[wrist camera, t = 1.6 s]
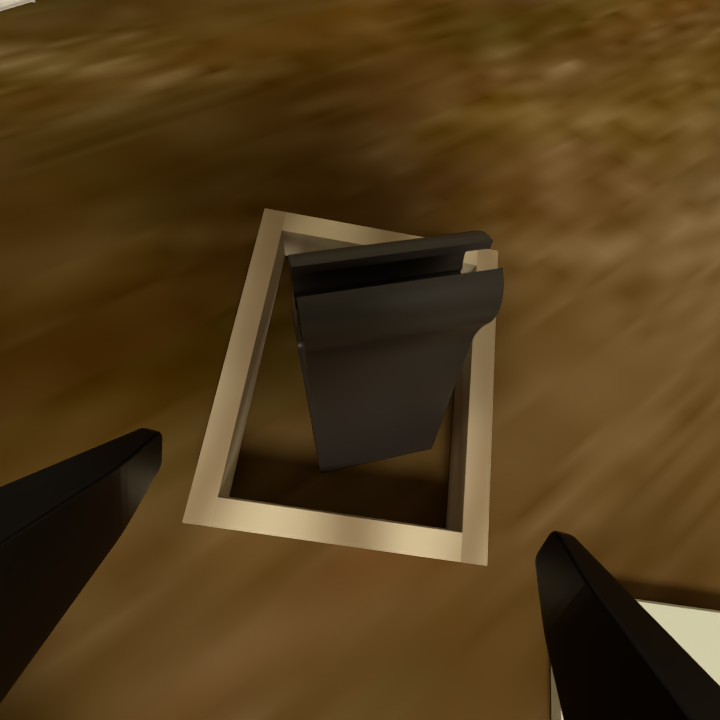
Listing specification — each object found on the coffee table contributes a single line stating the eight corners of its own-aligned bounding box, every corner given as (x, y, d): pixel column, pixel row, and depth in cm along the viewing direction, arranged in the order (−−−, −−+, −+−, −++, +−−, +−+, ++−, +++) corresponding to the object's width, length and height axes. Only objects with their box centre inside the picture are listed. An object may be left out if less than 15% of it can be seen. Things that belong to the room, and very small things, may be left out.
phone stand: (292, 315, 24) (269, 149, 12) (392, 300, 25) (457, 134, 13) (319, 473, 21) (322, 449, 10) (429, 450, 22) (550, 403, 11)
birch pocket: (198, 519, 20) (182, 522, 17) (269, 235, 25) (264, 208, 23) (467, 557, 20) (487, 565, 18) (481, 273, 26) (498, 251, 23)
